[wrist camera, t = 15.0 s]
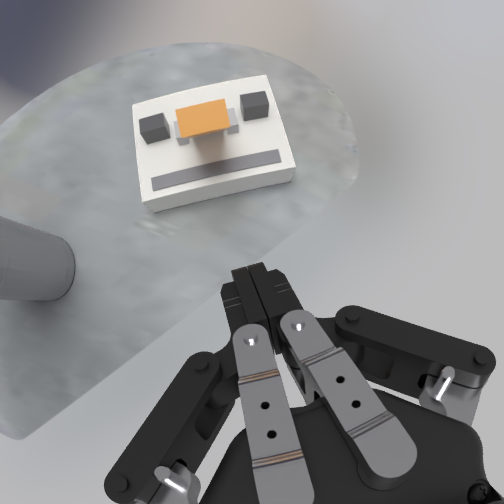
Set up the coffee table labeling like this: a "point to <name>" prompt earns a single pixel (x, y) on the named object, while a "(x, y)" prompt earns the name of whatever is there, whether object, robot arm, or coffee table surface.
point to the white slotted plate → (211, 145)
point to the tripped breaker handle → (203, 119)
